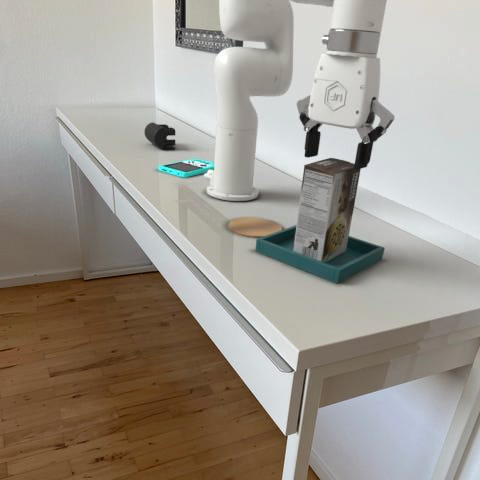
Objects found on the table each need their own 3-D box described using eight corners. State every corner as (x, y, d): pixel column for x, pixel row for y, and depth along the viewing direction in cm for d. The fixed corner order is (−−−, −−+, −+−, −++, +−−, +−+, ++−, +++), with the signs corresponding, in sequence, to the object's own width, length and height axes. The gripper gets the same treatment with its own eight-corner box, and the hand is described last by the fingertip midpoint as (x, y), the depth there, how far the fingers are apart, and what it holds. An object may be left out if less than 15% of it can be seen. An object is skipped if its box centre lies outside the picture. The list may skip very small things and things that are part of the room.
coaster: (217, 225, 103) (217, 224, 103) (252, 215, 110) (252, 214, 110) (258, 241, 97) (258, 240, 97) (292, 229, 104) (292, 228, 104)
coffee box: (317, 242, 98) (330, 156, 90) (346, 252, 94) (363, 164, 86) (290, 254, 91) (302, 163, 83) (321, 265, 88) (336, 171, 80)
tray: (255, 251, 92) (256, 238, 91) (304, 232, 103) (305, 221, 102) (337, 283, 83) (339, 270, 82) (382, 259, 93) (384, 247, 92)
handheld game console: (222, 168, 145) (222, 164, 144) (184, 178, 133) (185, 172, 132) (196, 162, 150) (196, 157, 149) (157, 170, 138) (157, 165, 137)
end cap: (144, 144, 166) (143, 122, 163) (164, 143, 170) (164, 122, 166) (154, 150, 159) (154, 127, 156) (175, 150, 162) (176, 127, 159)
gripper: (291, 40, 78) (280, 154, 87) (394, 48, 69) (370, 175, 77) (318, 42, 83) (305, 150, 92) (417, 50, 74) (392, 169, 82)
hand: (335, 161), depth 84 cm, fingers open, 9 cm apart
